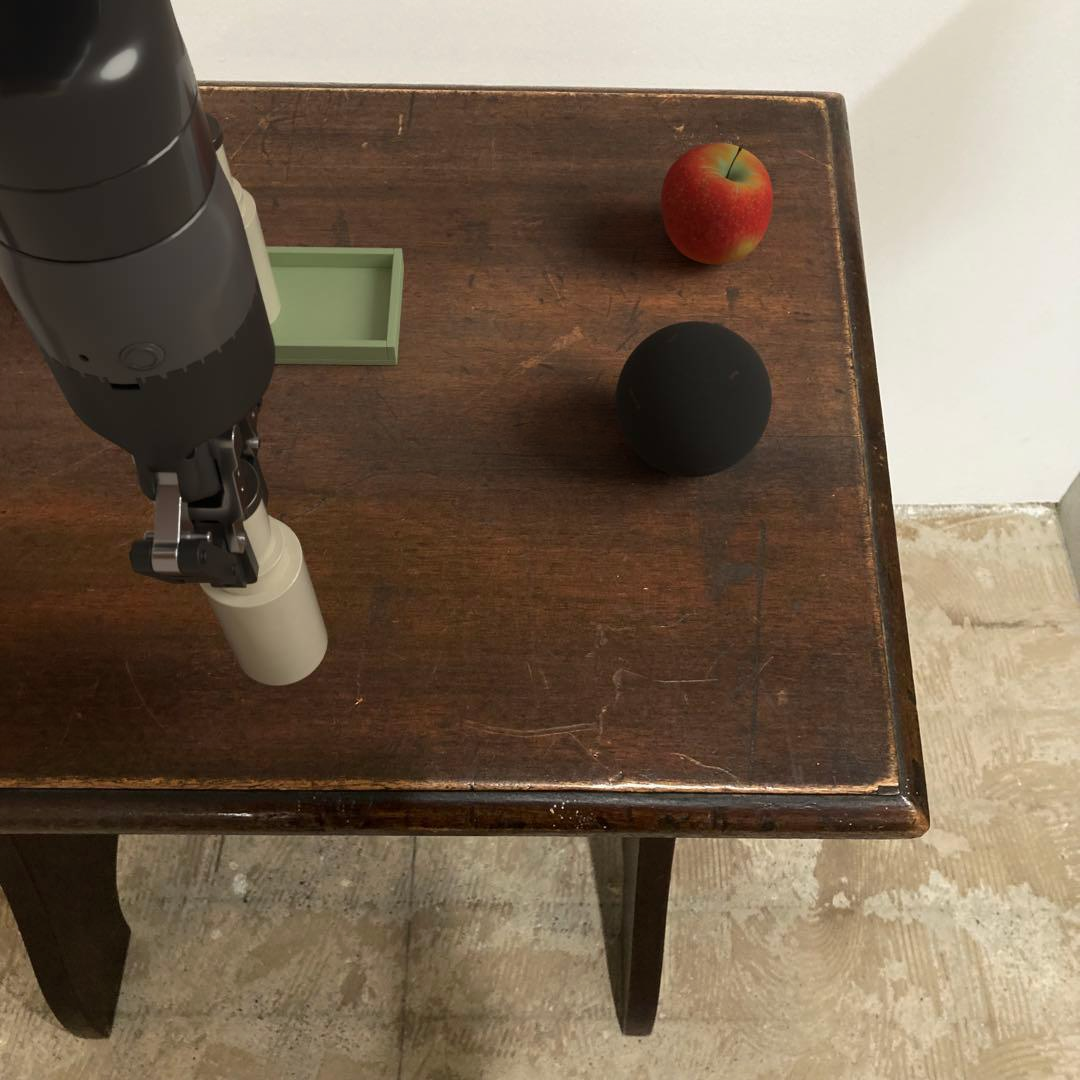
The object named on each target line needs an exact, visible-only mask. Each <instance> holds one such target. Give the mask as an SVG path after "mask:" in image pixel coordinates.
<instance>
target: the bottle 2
mask: <svg viewBox="0 0 1080 1080" xmlns="http://www.w3.org/2000/svg"><path fill="white" fill-rule="evenodd" d="M240 461H241V465H242V469H243V473H244V478H245V482H246V486H247V490H248V495H247V500H246V505H245V509H244V514H243V517H242V521H243V525H244V529H245V530H246V533H247V536H248V538H249V541H250V543H251V546H252V549H253V551H254V554H255V557H256V559H257V562H258V564H259V572H258V579H257V582H256V583H254V584H247V587H246V588H214V587H211V585H210V583H198V584H199V586H200V588H201V590H202V592H203V595H204V596H205V598H206V600H207V602H208V604H209V607H210V608H211V611H212V613H213V615H214V617H215V619H216V621H217V623H218V625H219V627H220V629H221V631H222V633H223V636H224V638H225V639H226V641H227V644H228V645H229V648H230V649H231V651H232V654H233V656H234V657H235V659H236V662H237V664H238V665H239V667H240V669H241V670H242V671H243V673H244V674H246V675H247V676H248V677H249V678H250V679H252V680H254V681H256V682H258V683H259V684H262V685H267V686H285V685H286V686H287V685H290V684H294V683H297V682H299V681H301V680H303V679H305V678H306V677H308V676H310V675H311V674H312V673H313V672H314V671H315V670H316V669H317V668H318V667H319V665H320V664H321V662H322V660H323V659H324V657H325V656H326V652H327V649H328V643H329V642H328V641H329V640H328V639H329V638H328V631H327V628H326V624H325V621H324V617H323V614H322V611H321V608H320V604H319V600H318V598H317V594H316V591H315V588H314V584H313V580H312V578H311V574H310V570H309V568H308V565H307V561H306V559H305V555H304V551H303V548H302V545H301V542H300V540H299V538H298V536H297V535H296V534H295V532H294V531H293V530H292V529H291V527H289V526H288V525H287V524H285V522H282V521H280V520H278V519H276V518H274V517H272V516H271V515H270V514H268V511H267V507H266V508H265V505H264V502H263V499H262V486H261V482H260V479H259V476H258V474H257V472H256V470H255V468H254V467H253V466H252V465H251V464H250V463H249V462H247V461H245V460H244V459H242V458H240ZM195 521H196V523H220V522H218V521H214V520H195Z"/></svg>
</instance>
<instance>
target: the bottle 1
mask: <svg viewBox="0 0 1080 1080" xmlns="http://www.w3.org/2000/svg"><path fill="white" fill-rule="evenodd" d="M205 114H206V118H207V122H208V125H209V129H210V133H211V136H212V140H213V144H214V149H215V151H216V154H217V157H218V160H219V162H220V165H221V167H222V169H223V171H224V173H225V175H226V177H227V179H228V182H229V184H230V186H231V188H232V191H233V193H234V196H235V198H236V201H237V204H238V207H239V210H240V213H241V216H242V220H243V224H244V227H245V231H246V235H247V239H248V243H249V247H250V250H251V254H252V258H253V262H254V266H255V270H256V274H257V277H258V281H259V285H260V289H261V293H262V296H263V300H264V304H265V308H266V312H267V315H268V319H269V323H270V325H271V324H272V323H273V322H274V321H275V320H276V318H277V317H278V315H279V312H280V308H281V302H280V298H279V294H278V290H277V286H276V282H275V278H274V274H273V270H272V267H271V263H270V259H269V255H268V251H267V247H266V246H267V244H266V240H265V235H264V232H263V228H262V225H261V224H262V223H261V221H260V216H259V212H258V208H257V205H256V202H255V198H254V197H253V196H252V195H251V193H250V192H248V190H246V189H245V188H243V187H242V185H241V183H240V182H239V181H238V180H237V179H236V178H235V177H234V176H233V175H232V172H231V169H230V165H229V161H228V157H227V153H226V149H225V146H224V133H223V129H222V126H221V123H220V121H219V120H218V119H217V118H216V117H215V116H213V115H212V114H211V113H207V112H205Z"/></svg>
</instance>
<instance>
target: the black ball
mask: <svg viewBox="0 0 1080 1080" xmlns="http://www.w3.org/2000/svg"><path fill="white" fill-rule="evenodd" d="M772 393H773V392H772V384H771V380H770V375H769V373H768V370H767V368H766V365H765V363H764V361H763V359H762V358H761V356H760V354H759V353H758V352H757V350H756V349H755V348H754V347H753V346H752V345H751V344H750V342H749V341H747V340H746V339H745V338H744V337H743V336H741V335H740V334H738V333H737V332H736V331H734V330H732V329H729V328H728V327H725V326H723V325H720V324H717V323H714V322H708V321H700V320H699V321H698V320H693V321H692V320H691V321H689V320H687V321H681V322H677V323H673V324H669V325H667V326H665V327H662V328H660V329H658V330H656V331H654V332H653V333H651V334H650V335H648V336H647V337H645V338H644V339H643V340H642V341H641V342H640V343H639V344H638V345H637V346H636V347H635V348H634V349H633V351H632V352H631V353H630V354H629V356H628V357H627V358H626V361H625V362H624V365H623V367H622V369H621V371H620V373H619V377H618V380H617V384H616V391H615V411H616V416H617V421H618V424H619V427H620V430H621V432H622V435H623V436H624V438H625V440H626V442H627V443H628V445H629V446H630V447H631V449H632V450H633V451H634V452H635V454H637V455H638V456H639V457H640V458H641V459H642V460H643V461H645V463H647V464H649V465H650V466H651V467H654V468H655V469H657V470H659V471H661V472H664V473H667V474H669V475H673V476H677V477H683V478H701V477H708V476H713V475H715V474H719V473H721V472H724V471H727V470H728V469H730V468H731V467H734V466H735V465H737V464H738V463H740V462H741V461H742V460H744V459H745V458H746V457H747V456H748V455H749V454H750V453H751V452H752V451H753V450H754V449H755V447H756V446H757V445H758V443H759V442H760V440H761V438H762V437H763V435H764V433H765V431H766V428H767V426H768V423H769V420H770V416H771V411H772V402H773V397H772V396H773V395H772Z"/></svg>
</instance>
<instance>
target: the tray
mask: <svg viewBox="0 0 1080 1080" xmlns="http://www.w3.org/2000/svg"><path fill="white" fill-rule="evenodd" d="M266 247H267V251H268V255H269V259H270V263H271V267H272V270H273V274H274V278H275V282H276V286H277V290H278V294H279V298H280V302H281V308H280V312H279V315H278V317H277V318H276V320H275V321H274V322H273V323H272V324H271V325H270V327H271V330H272V334H273V338H274V343H275V365H327V366H328V365H333V366H335V365H336V366H397V365H398V358H399V343H400V329H401V316H402V302H403V287H404V275H405V264H404V255H403V248H401V247H343V246H342V247H340V246H339V247H338V246H337V247H336V246H334V247H333V246H331V247H330V246H329V247H328V246H326V247H325V246H275V245H274V246H269V245H266Z"/></svg>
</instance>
